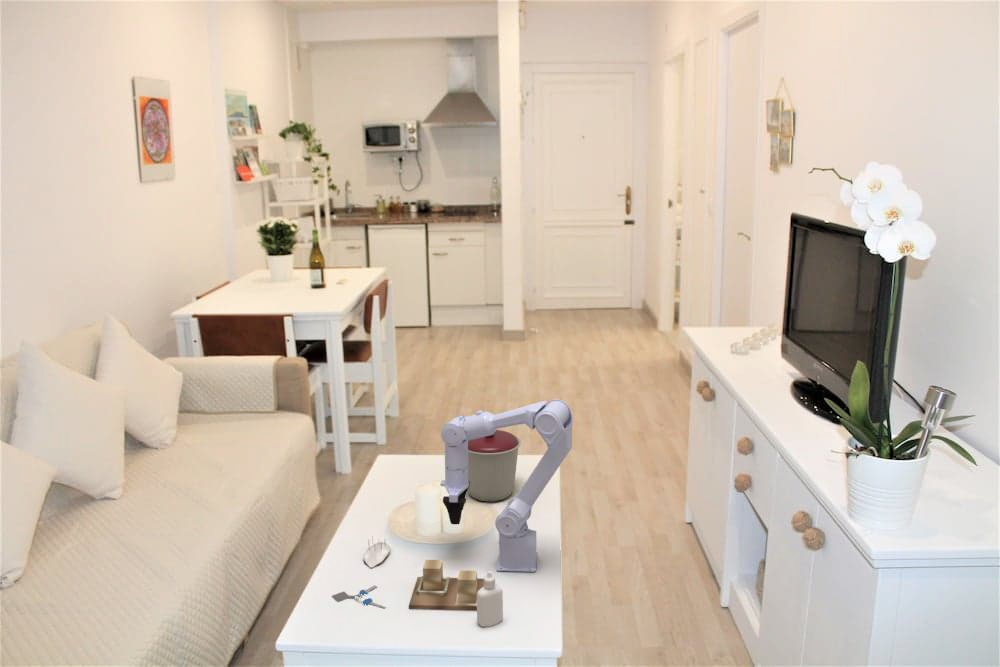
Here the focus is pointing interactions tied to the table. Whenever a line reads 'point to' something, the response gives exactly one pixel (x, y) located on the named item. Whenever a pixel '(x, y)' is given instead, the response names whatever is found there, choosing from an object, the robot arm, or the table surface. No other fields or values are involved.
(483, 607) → the eye dropper bottle
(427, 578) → the maple peg
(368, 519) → the table surface
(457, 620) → the table surface
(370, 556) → the pincushion
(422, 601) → the board
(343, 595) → the key chain
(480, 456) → the canister
